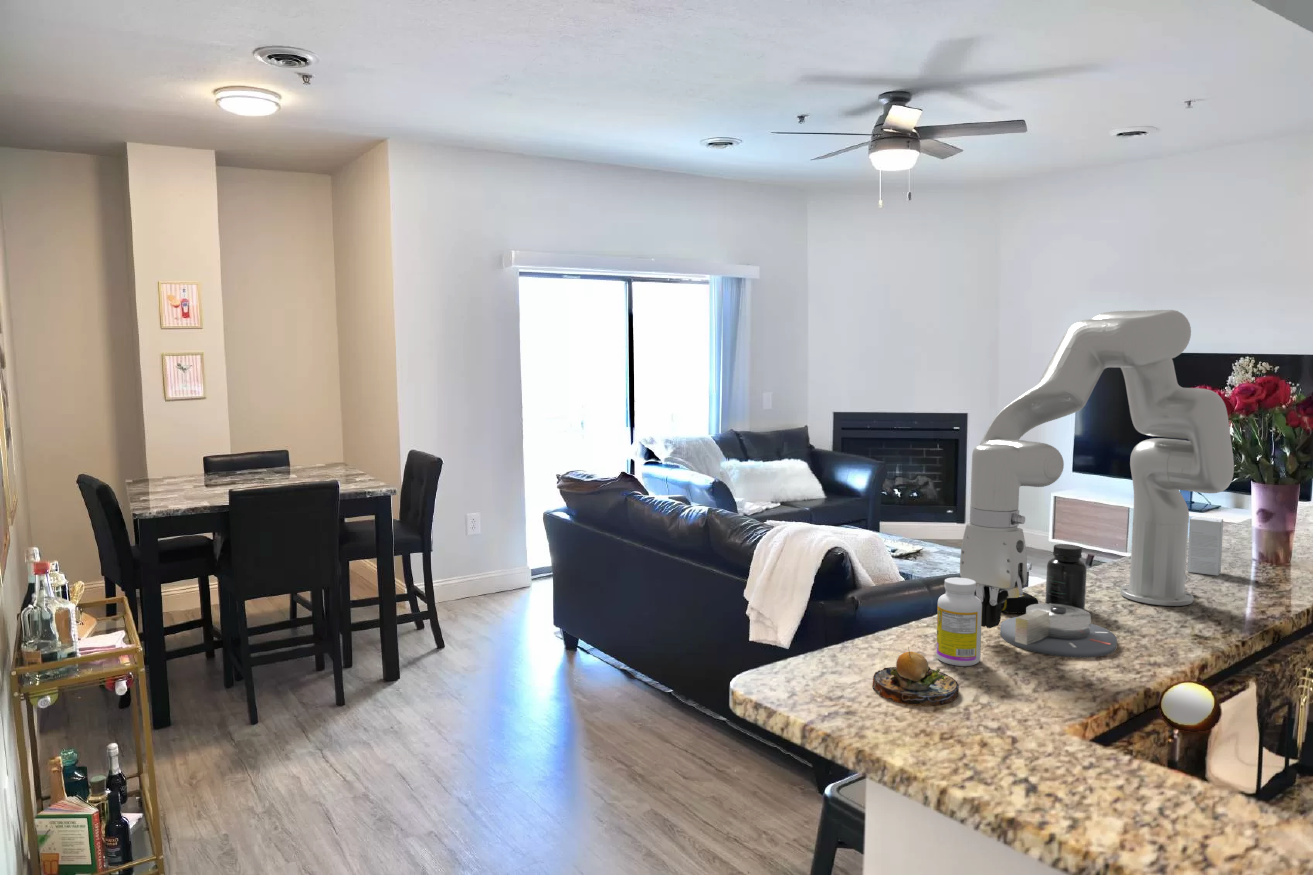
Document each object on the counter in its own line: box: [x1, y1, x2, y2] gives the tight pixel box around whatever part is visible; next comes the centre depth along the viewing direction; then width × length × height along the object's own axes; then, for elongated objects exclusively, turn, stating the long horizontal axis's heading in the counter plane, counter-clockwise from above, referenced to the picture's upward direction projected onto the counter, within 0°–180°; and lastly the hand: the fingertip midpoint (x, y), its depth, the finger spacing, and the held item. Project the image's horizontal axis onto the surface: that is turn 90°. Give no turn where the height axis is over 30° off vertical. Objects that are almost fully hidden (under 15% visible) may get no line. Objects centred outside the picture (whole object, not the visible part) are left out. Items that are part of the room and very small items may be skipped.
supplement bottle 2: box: [1044, 543, 1088, 610], centre depth 170 cm, size 7×7×12 cm
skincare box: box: [1187, 516, 1224, 577], centre depth 197 cm, size 6×4×12 cm
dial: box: [1015, 603, 1092, 645], centre depth 150 cm, size 17×10×4 cm, turn 129°
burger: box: [872, 646, 960, 707], centre depth 129 cm, size 12×12×8 cm
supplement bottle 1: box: [936, 576, 982, 667], centre depth 142 cm, size 7×7×13 cm
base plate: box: [999, 616, 1118, 659], centre depth 152 cm, size 18×18×2 cm
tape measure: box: [1001, 591, 1039, 614], centre depth 169 cm, size 7×7×4 cm
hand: (989, 625), depth 151 cm, fingers closed
